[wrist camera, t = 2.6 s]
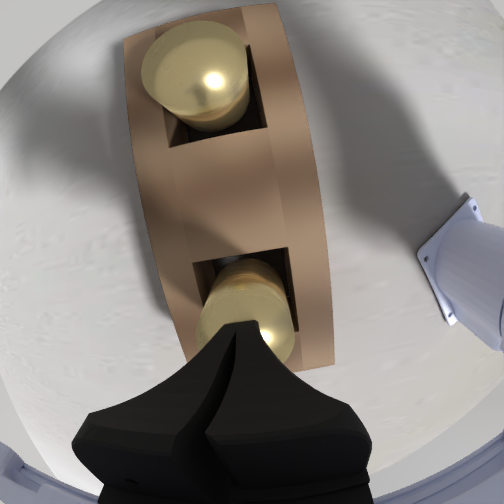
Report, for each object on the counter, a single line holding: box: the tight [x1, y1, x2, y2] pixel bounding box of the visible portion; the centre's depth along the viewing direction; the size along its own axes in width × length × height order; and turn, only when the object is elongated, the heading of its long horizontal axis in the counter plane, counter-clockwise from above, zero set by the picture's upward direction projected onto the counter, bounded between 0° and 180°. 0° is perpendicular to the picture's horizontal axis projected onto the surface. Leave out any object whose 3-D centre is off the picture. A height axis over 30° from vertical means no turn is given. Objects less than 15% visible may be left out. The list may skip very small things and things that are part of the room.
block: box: [124, 3, 335, 373], centre depth 15 cm, size 22×9×5 cm, turn 10°
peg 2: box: [196, 258, 295, 363], centre depth 13 cm, size 4×4×5 cm
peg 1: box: [141, 21, 250, 132], centre depth 10 cm, size 4×4×5 cm
